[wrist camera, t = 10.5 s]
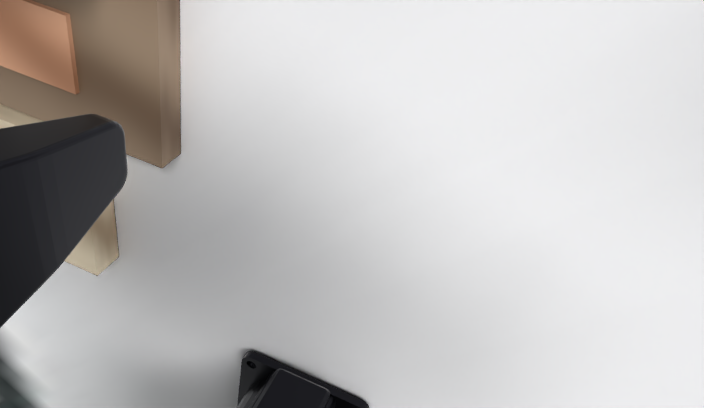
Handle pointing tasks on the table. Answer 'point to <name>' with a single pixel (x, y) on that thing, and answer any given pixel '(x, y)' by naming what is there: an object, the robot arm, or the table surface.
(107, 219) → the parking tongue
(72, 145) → the robot arm
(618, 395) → the table surface
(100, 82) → the rack board
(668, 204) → the table surface
